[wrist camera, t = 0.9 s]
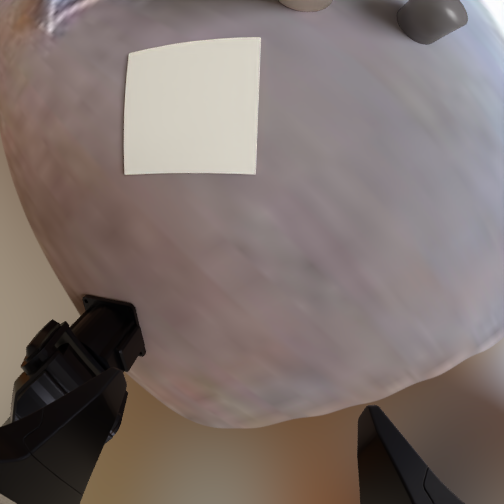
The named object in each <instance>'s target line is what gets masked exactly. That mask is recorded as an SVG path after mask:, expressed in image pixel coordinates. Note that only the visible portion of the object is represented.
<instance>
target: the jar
mask: <svg viewBox="0 0 504 504" xmlns="http://www.w3.org/2000/svg"><path fill="white" fill-rule="evenodd" d="M278 1H279V2H281V3H282V4H283V5H285V6H286V7H288V8H291V9H293V10H297V11H302V12H315V11H320V10H322V9H325V8H326V7H328V6H329V5H330V4H331V2H332V1H333V0H278Z"/></svg>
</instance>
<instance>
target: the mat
mask: <svg viewBox="0 0 504 504" xmlns="http://www.w3.org/2000/svg"><path fill="white" fill-rule="evenodd" d="M260 49H261V38H260V37H250V38H224V39H211V40H201V41H192V42H185V43H178V44H172V45H166V46H160V47H155V48H150V49H146V50H141V51H137V52H133V53H129V58H128V67H127V78H126V91H125V109H124V173H125V175H131V174H156V173H229V174H256V153H257V127H258V101H259V75H260Z"/></svg>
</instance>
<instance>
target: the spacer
mask: <svg viewBox="0 0 504 504" xmlns="http://www.w3.org/2000/svg"><path fill="white" fill-rule="evenodd" d="M397 21H398V24H399V26H400V27H401V29H402V30H403V32H404V33H405V34H406V35H407V36H408V37H410V38H411V39H412V40H414V41H416V42H418V43H421V44H426V45H427V44H431V43H433V42H435V41H437V40H438V39H440V38H442V37H444V36H445V35H447V34H449V33H451V32H453V31H455V30H456V29H458V28H460V27H462V26H464V25H465V24H466V23H467V21H468V16H467V12H466V10H465V8H464V6H463V4H462V3H461V2H460V0H409V1H408V2H407V3H406V4H405V5H404V6H403V7H402V8H401V9H400V10H399V11H398V13H397Z"/></svg>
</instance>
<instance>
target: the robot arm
mask: <svg viewBox="0 0 504 504" xmlns="http://www.w3.org/2000/svg"><path fill="white" fill-rule="evenodd" d="M83 303H84V306H85V310H86V311H85V312H84V313H83V314H82V315H81V316H80V317H79V319H77V321H76V322H75V323H74V324H73V325H72V326H71V327H69V325H68V323H67V322H66V321H65V322H63V323H61V324H59V323H57V322H56V321H54V320H51V321H50V322H49V323H47V324H46V325H45V326H44V328H42V330H40V331H39V332H38V334H37V335H36V336H35V337H34V338H33V340H32V341H31V342H30V343H29V345H28V346H27V347H26V356H25V358H24V361H23V363H22V365H21V368H22V369H23V370H24V372H23V373H22V374H21V375H20V376H19V377H18V378H17V380H16V381H15V383H14V388H13V395H12V403H11V414H10V417H9V418H8V420H7V421H6V422H5V423H4V424H3V425H2V427H0V504H80V501H81V499H82V496H83V495H82V494H83V493H84V491H85V488H86V486H87V484H88V481H89V479H90V476H91V474H92V472H93V469H94V467H95V465H96V462H97V460H98V457H99V455H100V453H101V451H102V448H103V446H104V444H105V443H106V442H108V441H109V440H110V439H112V437H113V436H114V435H115V434H116V432H117V431H118V429H119V427H120V424H121V421H122V416H123V412H124V408H125V403H126V399H127V395H128V392H127V391H126V387H127V384H126V381H125V377H124V374H123V372H124V371H125V372H128V371H129V370H130V368H131V366H132V365H133V363H134V362H135V360H136V358H137V357H138V356H142V357H143V356H144V355H145V353H146V350H145V347H144V341H143V337H142V333H141V328H140V326H139V322H138V318H137V313H136V309H135V307H134V305H132V304H130V303H124V302H119V301H113V300H108V299H103V298H98V297H93V296H89V295H85V296H84V297H83ZM129 308H130V309H131V310H130V309H129ZM357 447H358V448H357V449H358V450H357V458H358V470H359V471H358V472H359V487H360V504H465V503H464V502H462V501H461V500H460V499H459V498H458V497H457V496H456V495H455V494H454V493H453V492H451V491H450V490H449V489H448V488H447V487H446V486H445V485H444V484H443V483H442V482H441V481H440V480H439V479H438V477H437V476H436V475H435V474H434V473H433V472H432V471H431V469H430V468H429V467H428V466H427V465H426V463H425V462H424V461H423V460H422V459H421V457H420V456H419V455H418V454H417V452H416V451H415V450H414V449H413V448H412V446H411V445H410V444H409V443H408V441H407V440H406V439H405V438H404V437H403V435H402V434H401V433H400V432H399V430H398V429H397V428H396V427H395V426H394V424H393V423H392V422H391V421H390V420H389V418H388V417H387V416H386V415H385V413H384V412H383V411H382V410H381V409H380V407H379V406H377V405H368V406H366V408H365V409H364V411H363V412H362V414H361V415H360V417H359V419H358V446H357Z"/></svg>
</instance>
